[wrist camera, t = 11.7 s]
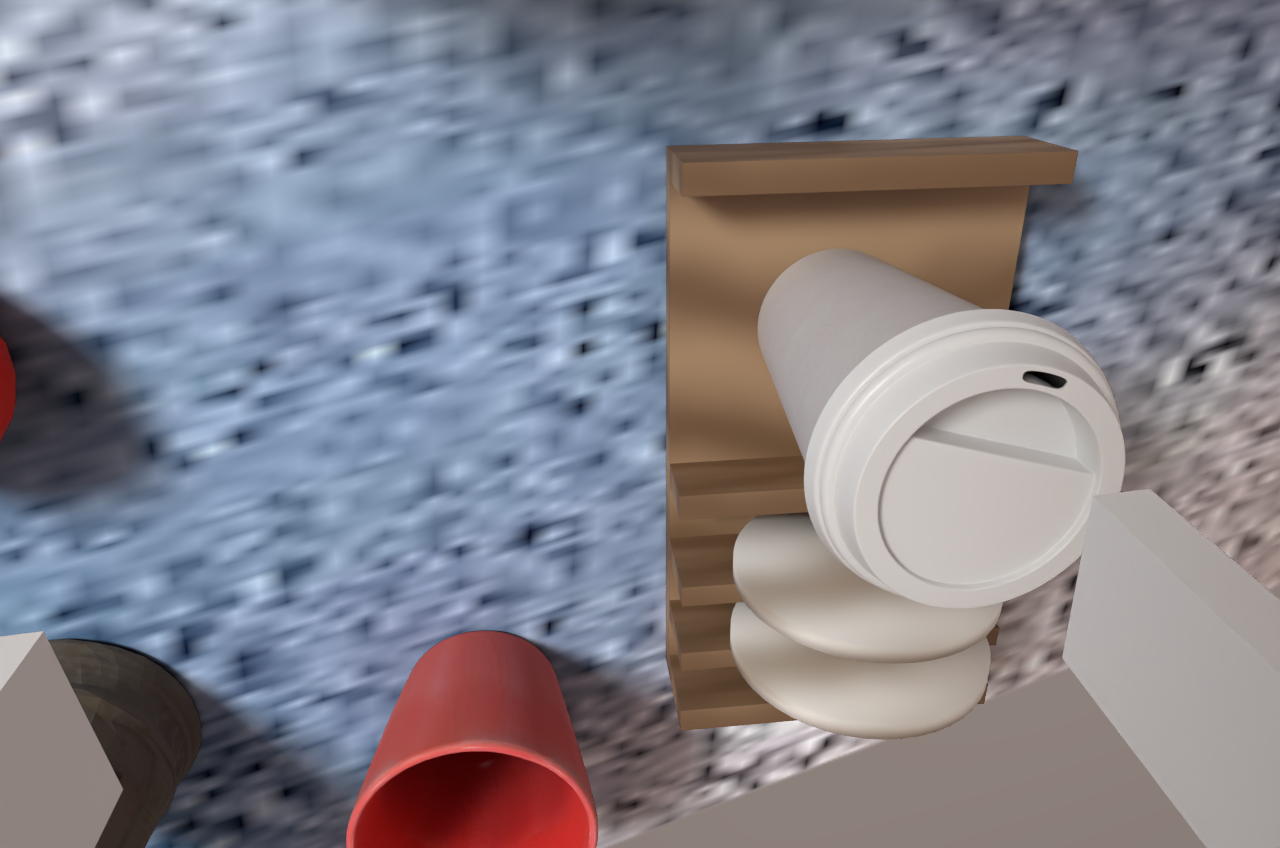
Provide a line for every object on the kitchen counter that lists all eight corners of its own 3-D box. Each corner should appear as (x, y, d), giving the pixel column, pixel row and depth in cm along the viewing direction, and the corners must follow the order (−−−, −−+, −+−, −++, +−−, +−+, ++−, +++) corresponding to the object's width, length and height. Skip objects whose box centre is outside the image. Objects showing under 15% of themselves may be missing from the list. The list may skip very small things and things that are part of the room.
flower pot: (606, 614, 46) (624, 760, 37) (564, 773, 50) (571, 937, 41) (394, 588, 43) (359, 736, 35) (369, 756, 48) (333, 925, 39)
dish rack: (666, 146, 36) (725, 209, 25) (1023, 135, 37) (1227, 192, 26) (666, 658, 47) (706, 857, 36) (940, 635, 48) (1059, 821, 38)
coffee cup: (982, 296, 39) (1221, 454, 25) (836, 458, 42) (982, 678, 28) (823, 163, 36) (1000, 262, 22) (676, 348, 38) (754, 536, 25)
